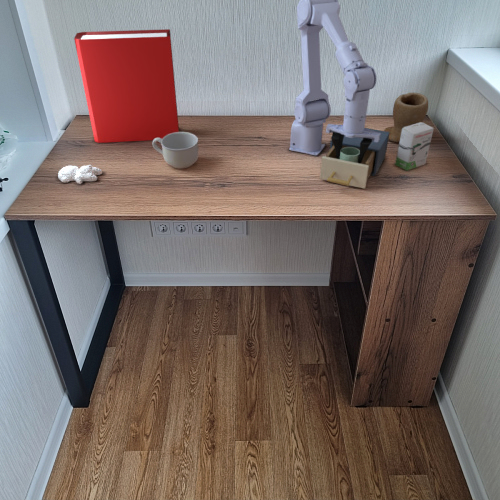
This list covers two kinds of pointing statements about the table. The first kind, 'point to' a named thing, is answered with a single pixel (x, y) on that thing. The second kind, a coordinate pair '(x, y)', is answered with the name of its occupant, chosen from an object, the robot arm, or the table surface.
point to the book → (128, 84)
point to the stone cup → (407, 113)
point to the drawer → (347, 169)
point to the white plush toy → (79, 173)
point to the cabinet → (370, 147)
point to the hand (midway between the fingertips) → (349, 160)
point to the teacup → (178, 149)
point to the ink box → (414, 146)
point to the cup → (349, 154)
